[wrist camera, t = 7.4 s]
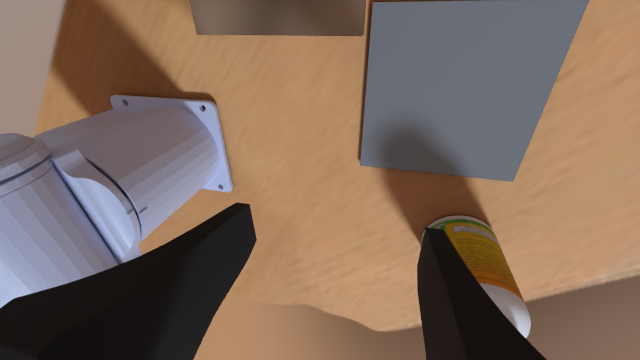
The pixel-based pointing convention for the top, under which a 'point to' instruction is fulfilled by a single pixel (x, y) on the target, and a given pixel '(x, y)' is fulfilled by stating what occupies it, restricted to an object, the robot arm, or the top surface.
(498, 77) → the mat
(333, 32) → the lid
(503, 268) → the supplement bottle
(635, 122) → the top surface
